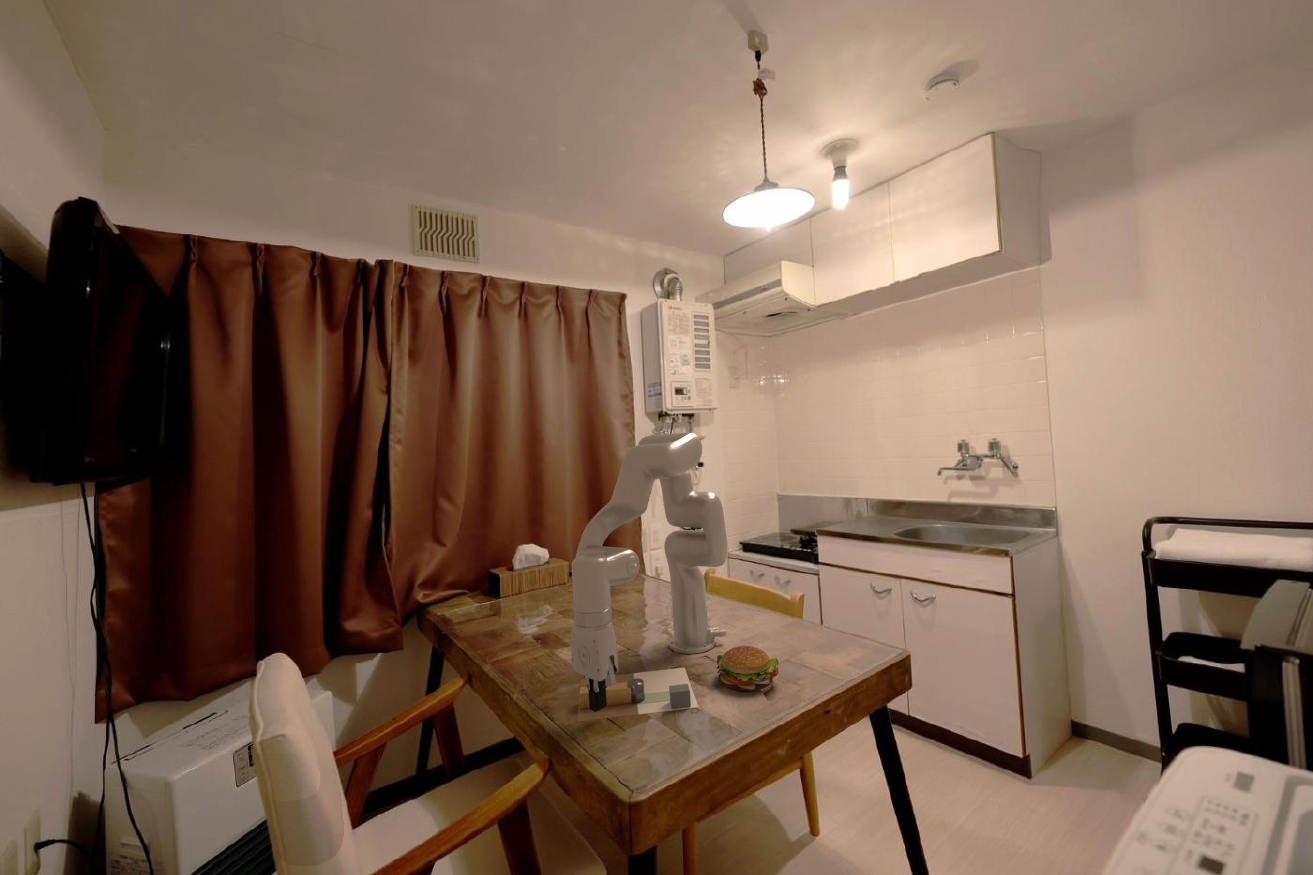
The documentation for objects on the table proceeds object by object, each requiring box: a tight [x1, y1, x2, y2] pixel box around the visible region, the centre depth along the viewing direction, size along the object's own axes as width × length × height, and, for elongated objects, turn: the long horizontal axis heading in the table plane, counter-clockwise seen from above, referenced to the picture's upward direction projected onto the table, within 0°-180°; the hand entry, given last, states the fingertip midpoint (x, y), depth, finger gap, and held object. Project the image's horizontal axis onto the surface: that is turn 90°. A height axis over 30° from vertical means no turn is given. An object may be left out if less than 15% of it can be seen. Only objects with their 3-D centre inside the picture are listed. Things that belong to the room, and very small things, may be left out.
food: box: [716, 645, 780, 694], centre depth 117 cm, size 14×14×8 cm
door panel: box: [576, 667, 699, 723], centre depth 114 cm, size 25×19×5 cm
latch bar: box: [579, 678, 645, 709], centre depth 110 cm, size 14×4×4 cm, turn 96°
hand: (598, 708), depth 103 cm, fingers closed
